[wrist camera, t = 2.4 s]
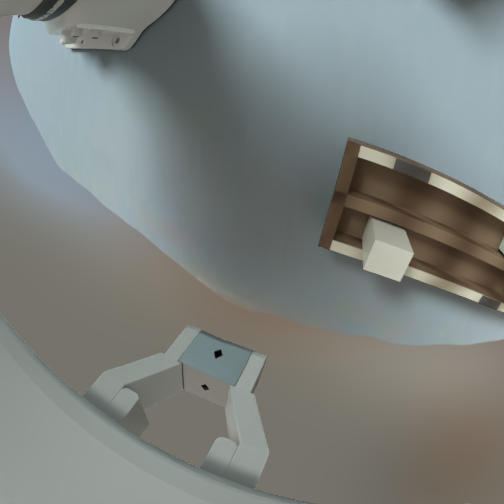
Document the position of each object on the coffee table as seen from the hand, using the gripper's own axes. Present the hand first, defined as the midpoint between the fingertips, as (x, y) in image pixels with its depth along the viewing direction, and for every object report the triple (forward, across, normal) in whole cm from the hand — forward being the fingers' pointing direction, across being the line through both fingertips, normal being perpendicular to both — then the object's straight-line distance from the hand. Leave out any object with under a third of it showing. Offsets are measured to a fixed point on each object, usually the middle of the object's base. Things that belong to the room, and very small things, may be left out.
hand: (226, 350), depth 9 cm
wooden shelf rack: (+19, -14, -2) cm, 24 cm away
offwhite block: (+17, -7, 0) cm, 18 cm away
